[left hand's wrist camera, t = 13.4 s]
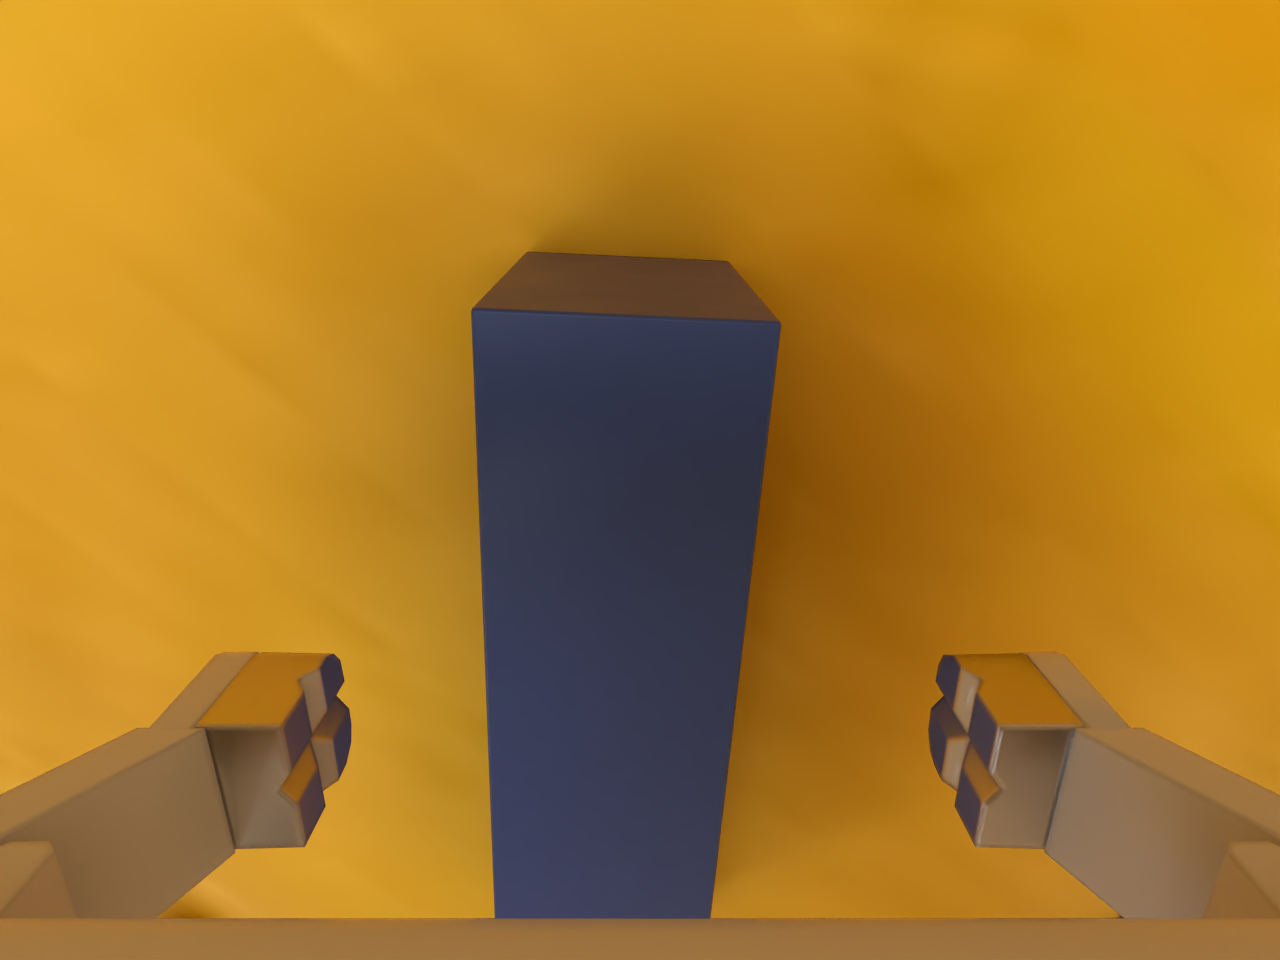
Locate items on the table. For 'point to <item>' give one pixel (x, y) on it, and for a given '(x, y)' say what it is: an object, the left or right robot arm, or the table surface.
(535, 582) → the bar
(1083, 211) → the table surface
